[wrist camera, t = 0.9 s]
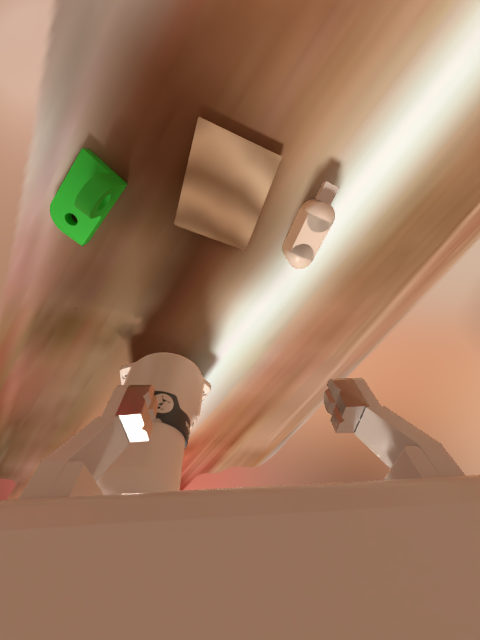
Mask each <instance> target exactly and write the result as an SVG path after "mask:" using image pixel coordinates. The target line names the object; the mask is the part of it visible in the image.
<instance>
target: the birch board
mask: <svg viewBox="0 0 480 640" xmlns="http://www.w3.org/2000/svg"><path fill="white" fill-rule="evenodd" d="M281 158H282V156H280V155H277V154H275V153H273V152H271V151H269V150H267V149H265V148H263V147H261V146H259V145H257V144H255V143H253V142H250V141H248V140H246V139H244V138H242V137H240V136H238V135H236V134H234V133H232V132H230V131H228V130H226V129H224V128H221V127H219V126H217V125H215V124H213V123H211V122H209V121H207V120H205V119H203V118H201V117H199V116H198V120H197V124H196V129H195V133H194V138H193V142H192V147H191V151H190V155H189V160H188V164H187V169H186V173H185V177H184V182H183V186H182V191H181V195H180V199H179V204H178V208H177V213H176V217H175V221H174V225H176V226H179V227H182V228H184V229H187V230H190V231H193V232H195V233H198V234H201V235H203V236H206V237H209V238H212V239H214V240H217V241H220V242H223V243H225V244H228V245H231V246H233V247H236V248H239V249H242V250H244V251H245V250H246V248H247V245H248V243H249V240H250V238H251V235H252V232H253V230H254V227H255V225H256V222H257V220H258V217H259V214H260V212H261V209H262V207H263V204H264V202H265V199H266V197H267V194H268V191H269V189H270V186H271V184H272V181H273V179H274V176H275V173H276V171H277V168H278V166H279V163H280V161H281Z"/></svg>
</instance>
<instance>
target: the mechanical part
mask: <svg viewBox="0 0 480 640" xmlns="http://www.w3.org/2000/svg"><path fill="white" fill-rule="evenodd" d="M126 186H127V183H126V182H125V181H124V180H123V179H122V178H120V177H119V176H118V175H117V174H116V173H115V172H114V171H113V170H112V169H110V168H109V167H108V166H107V165H106V164H105V163H104V162H103V161H102V160H101V159H99V158H98V157H97V156H96V155H95V154H94V153H93V152H92V151H91V150H89V149H86V148H82V149H81V151H80V153H79V155H78V156H77V158H76V160H75V162H74V163H73V165H72V167H71V169H70V171H69V172H68V174H67V176H66V178H65V179H64V181H63V183H62V185H61V186H60V188H59V190H58V192H57V194H56V195H55V197H54V199H53V201H52V203H51V205H50V214H51V217H52V220H53V221H54V223H55V225H56V226H57V227H58V228H59V229H60V230H61V231H62V232H64V233H65V234H66V235H68V236H69V237H70V238H72V239H73V240H75V241H76V242H77V243H79V244H80V245H81V246H83V245H85V244H87V243H88V242H89V240H90V239H91V237H92V236H93V234H94V233H95V232H96V230H97V229H98V227H99V226H100V224H101V223H102V221H103V220H104V218H105V217H106V215H107V214H108V212H109V211H110V209H111V208H112V206H113V205H114V204H115V202H116V201H117V199H118V198H119V196H120V195H121V193H122V192H123V190H124V189H125V187H126ZM71 214H74V215H75V216H76V218H77V220H78V223H76V222H75V221H74V220H73V219H72V217H71Z"/></svg>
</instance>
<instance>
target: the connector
mask: <svg viewBox="0 0 480 640" xmlns="http://www.w3.org/2000/svg"><path fill="white" fill-rule="evenodd" d="M338 189H339V187H337V186H335V185H333V184H331V183H329V182H327V181H323V182H322V185H321V187H320V189H319V191H318V193H317V195H316V197H315V199H316V200H315V199H310V200H307V201H306V202H304V203H303V204H302V205H301V207H300V209H299V211H298V213H297V215H296V218H295V220H294V222H293V224H292V226H291V228H290V231H289V233H288V235H287V237H286V239H285V241H284V243H283V246H282V252H283V254H284V256H285V257H286V259H287V260H288V262H289V263H290V265H291V266H292V267H294V268H296V269H303V268H305V267H307V266H308V265H310V263H311V262H312V260H313V259H314V257H315V255H316V253H317V251H318V249H319V248H320V246H321V244H322V242H323V240H324V238H325V236H326V235H327V233H328V231H329V229H330V227H331V225H332V224H333V221H334V218H335V212H334V209H333V208H332V207H331V206H330V204H331V202H332V200H333V198H334V197H335V195H336V193H337V191H338ZM318 200H319V201H318Z"/></svg>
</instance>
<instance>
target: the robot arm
mask: <svg viewBox="0 0 480 640" xmlns="http://www.w3.org/2000/svg"><path fill="white" fill-rule="evenodd" d="M120 377H121V385H118V386H117V387H116V388H115V390H114V392H113V394H112V396H111V398H110V400H109V402H108V404H107V406H106V408H105V410H104V412H103V414H102V416H101V417H97V418H96V419H94V420H93V421H92V422H91V423H89V424H88V425H87V426H85V427H84V428H83V429H82V430H80V431H79V432H78V433H77V434H75V435H74V436H73V437H72V438H70V439H69V440H68V441H67V442H65V443H64V444H63V445H61V446H60V447H59V448H58V449H56V450H55V451H54V452H53V453H51V454H50V455H49V456H48V457H46V458H45V459H44V460H43V461H41V463H40V464H39V466H38V468H37V469H36V471H35V472H34V474H33V476H32V477H31V479H30V480H29V482H28V484H27V485H26V487H25V489H24V490H23V492H22V493H21V495H20V497H19V498H18V499H14V500H0V640H480V475H470V476H466V475H465V474H464V473H463V472H462V470H461V469H460V468H459V466H458V465H457V464H456V463H455V461H454V460H453V459H452V457H451V456H450V455H449V453H448V452H447V451H446V450H445V448H444V447H443V446H442V444H441V443H439V442H438V441H436V440H435V439H433V438H432V437H430V436H429V435H427V434H425V433H424V432H423V431H421V430H419V429H418V428H417V427H415V426H413V425H412V424H411V423H409V422H407V421H406V420H405V419H403V418H401V417H400V416H398V415H397V414H395V413H394V412H393V411H391V410H390V409H388V408H387V407H385V406H381V405H380V403H379V402H378V400H377V399H376V397H375V396H374V394H373V393H372V391H371V390H370V388H369V387H368V385H367V383H366V382H365V380H364V379H362V378H351V379H350V378H344V379H330V380H329V381H328V383H327V386H328V388H329V389H327V390H326V391H325V394H324V404H325V407H326V410H327V412H328V413H330V414H331V415H332V418H331V422H332V425H333V427H334V429H335V432H336V433H354V434H355V435H356V436H357V437H358V438H359V439H360V440H361V441H362V442H363V443H364V444H365V445H367V446H368V447H369V448H370V449H371V450H372V451H373V452H374V453H375V454H376V455H377V456H378V457H379V458H380V459H381V460H382V461H383V462H384V463H385V464H386V465H387V466H388V467H389V468H390V470H389V472H388V473H387V475H386V476H385V478H384V480H376V481H359V482H358V481H357V482H340V483H339V482H338V483H319V484H301V485H300V484H299V485H280V486H262V487H243V488H224V489H205V490H186V491H179V489H180V480H181V471H182V463H183V455H184V449H185V448H186V446H187V444H188V440H189V436H190V429H191V428H192V426H193V424H194V421H195V422H196V421H197V418H198V417H199V415H200V410H201V403H202V401H203V400H204V398H205V397H206V396H207V394H208V393H209V392H210V390H211V385H210V383H209V382H208V381H206V380H205V379H204V378H203V376H202V374H201V372H200V370H199V368H198V367H197V366H196V365H195V364H194V363H193V362H192V361H191V360H189V359H187V358H186V357H183V356H181V355H178V354H174V353H167V352H160V353H153V354H149V355H147V356H145V357H143V358H141V359H140V360H138V361H137V362H134V363H130V364H125V365H123V366H122V367H121V369H120ZM96 481H97V482H96Z"/></svg>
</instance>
